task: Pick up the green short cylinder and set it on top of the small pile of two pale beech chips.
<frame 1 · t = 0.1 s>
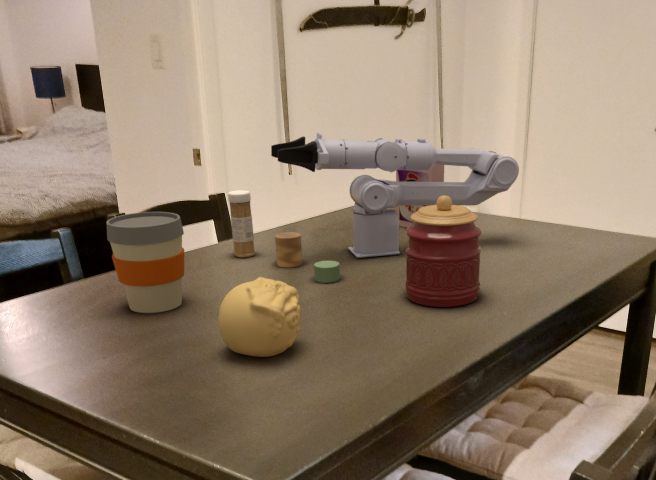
hand: (274, 153, 149), 22 cm above the table, tool horizontal, fingers open, 7 cm apart
greeting card: (421, 227, 183), on the table
kitchen canister: (442, 297, 135), on the table
sprinkles bottle: (244, 256, 163), on the table
pile bottom chip: (289, 264, 156), on the table, touching pile middle chip
reusable coffee cup: (156, 305, 134), on the table
green short cylinder: (327, 279, 145), on the table
sculpture: (262, 350, 113), on the table
pile middle chip: (288, 249, 155), point 3 cm above the table, touching pile bottom chip
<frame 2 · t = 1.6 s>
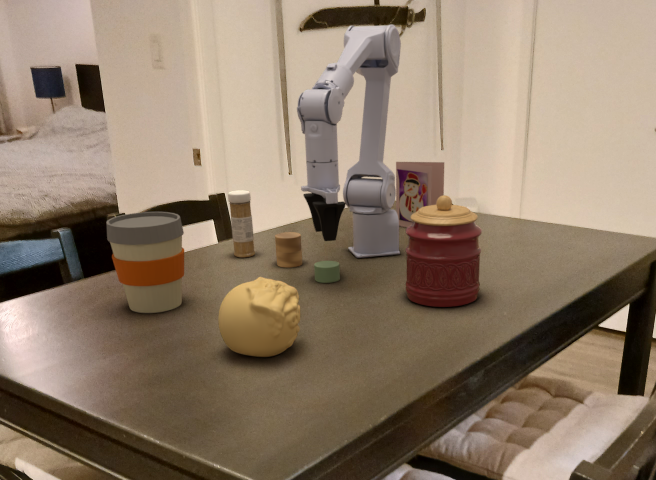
hand: (325, 235, 142), 8 cm above the table, tool pointing down, fingers open, 7 cm apart
nothing on the table moved.
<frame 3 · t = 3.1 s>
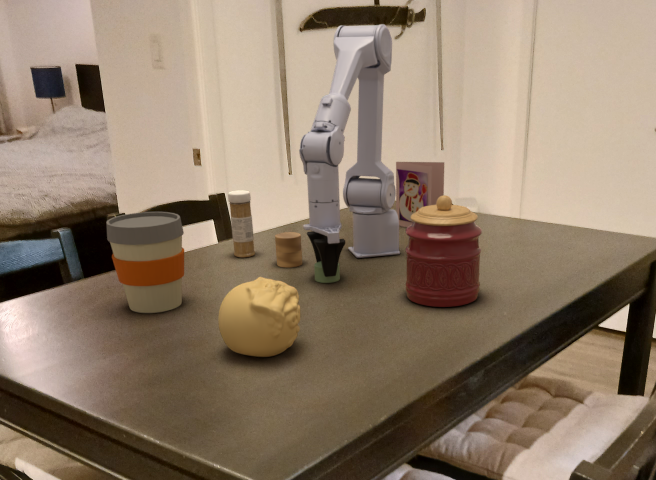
hand: (327, 272, 145), 1 cm above the table, tool pointing down, fingers closed on green short cylinder, 5 cm apart
green short cylinder: (327, 279, 145), on the table, touching gripper
everything else where it was.
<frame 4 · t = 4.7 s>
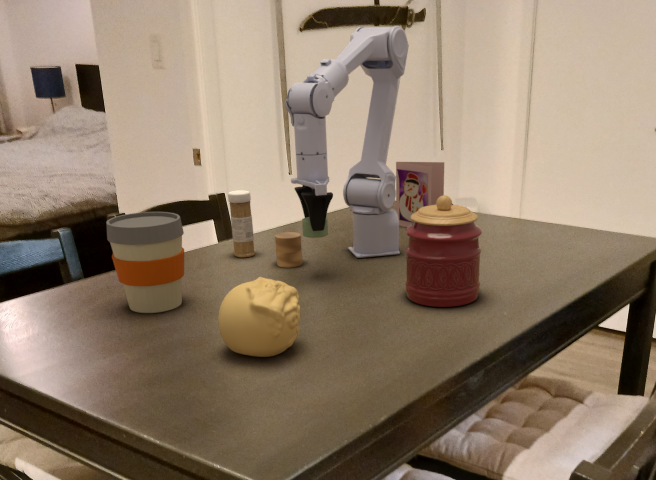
hand: (315, 227, 144), 9 cm above the table, tool pointing down, fingers closed on green short cylinder, 5 cm apart
green short cylinder: (315, 234, 145), point 8 cm above the table, touching gripper
everything else where it was.
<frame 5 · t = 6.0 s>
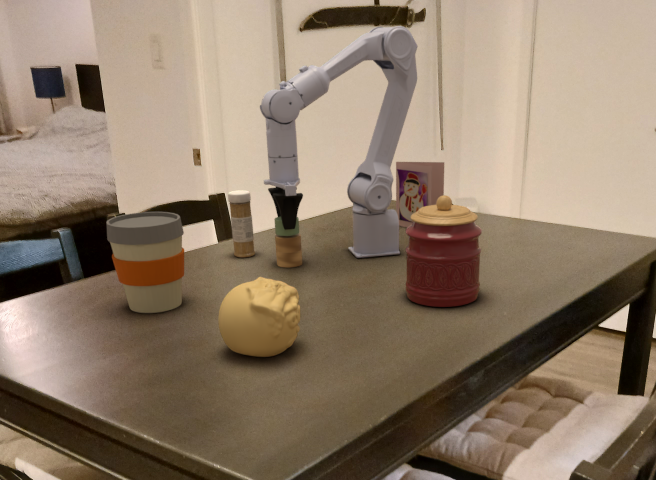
hand: (287, 226, 153), 8 cm above the table, tool pointing down, fingers closed on green short cylinder, 5 cm apart
green short cylinder: (287, 233, 153), point 6 cm above the table, touching gripper
everything else where it was.
when the fingers open (7 cm above the table, at t = 6.6 s): green short cylinder stays where it is, resting on pile middle chip.
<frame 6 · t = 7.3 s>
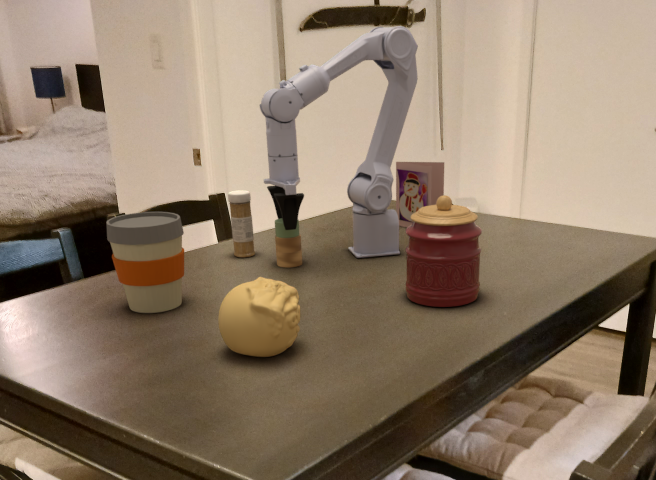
hand: (287, 225, 152), 8 cm above the table, tool pointing down, fingers open, 7 cm apart
green short cylinder: (287, 235, 153), point 6 cm above the table, touching pile middle chip
pile middle chip: (288, 249, 155), point 3 cm above the table, touching green short cylinder, pile bottom chip
everything else where it was.
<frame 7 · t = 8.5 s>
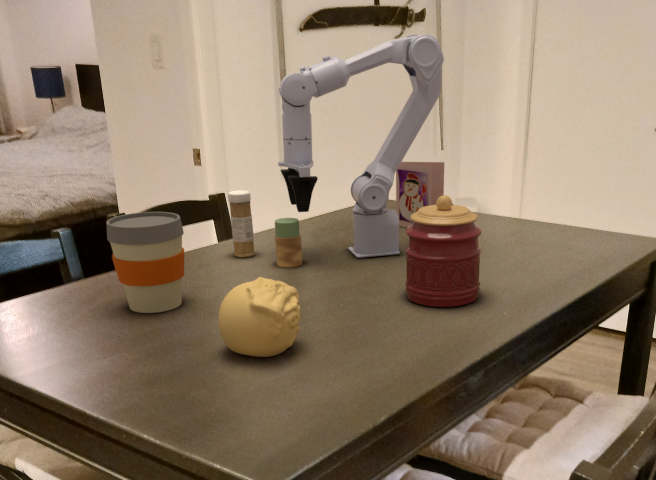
hand: (299, 207, 156), 10 cm above the table, tool pointing down, fingers open, 7 cm apart
nothing on the table moved.
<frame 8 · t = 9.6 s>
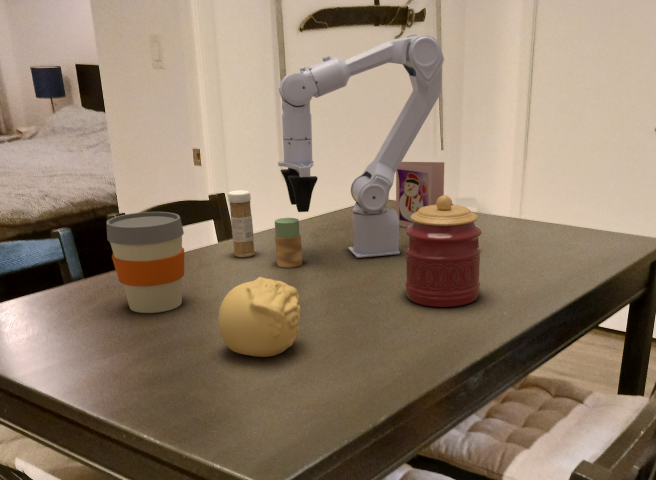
hand: (299, 207, 156), 10 cm above the table, tool pointing down, fingers open, 7 cm apart
nothing on the table moved.
at the end: green short cylinder 0.1 cm off-centre on the pile bottom chip, point 6.0 cm above the pile bottom chip's base; green short cylinder tilted 0°; pile middle chip 0.0 cm off-centre on the pile bottom chip, point 3.0 cm above the pile bottom chip's base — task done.
